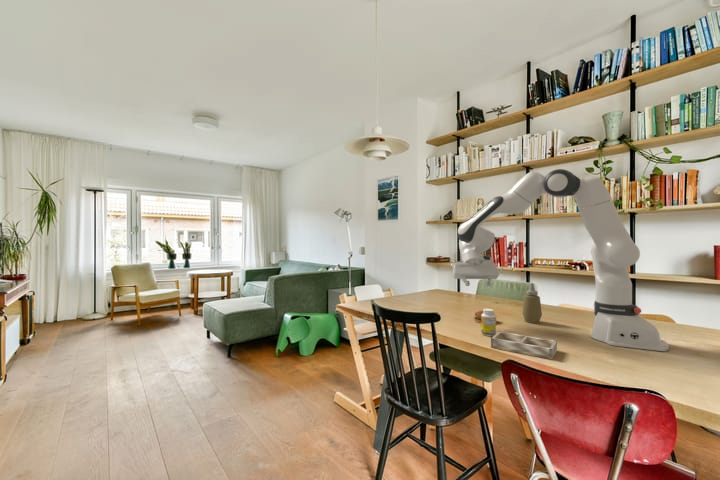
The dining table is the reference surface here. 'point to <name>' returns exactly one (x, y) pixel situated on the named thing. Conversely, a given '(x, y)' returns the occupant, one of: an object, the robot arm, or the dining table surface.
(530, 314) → the squeeze bottle
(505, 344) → the grey divided wooden tray
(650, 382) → the dining table surface
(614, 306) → the robot arm
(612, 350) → the dining table surface
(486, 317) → the supplement bottle
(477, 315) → the burger
